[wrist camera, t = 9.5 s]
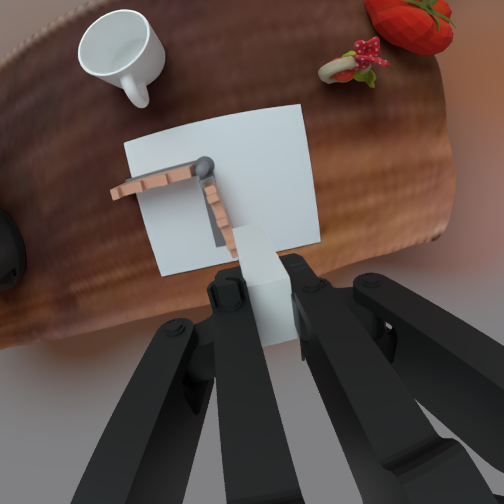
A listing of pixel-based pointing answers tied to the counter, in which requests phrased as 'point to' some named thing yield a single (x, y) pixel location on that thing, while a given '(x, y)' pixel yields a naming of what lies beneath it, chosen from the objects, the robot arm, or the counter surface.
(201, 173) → the fence fixed
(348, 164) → the counter surface
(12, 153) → the counter surface
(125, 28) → the mug
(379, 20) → the tomato
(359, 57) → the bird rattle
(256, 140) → the card
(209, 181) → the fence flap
